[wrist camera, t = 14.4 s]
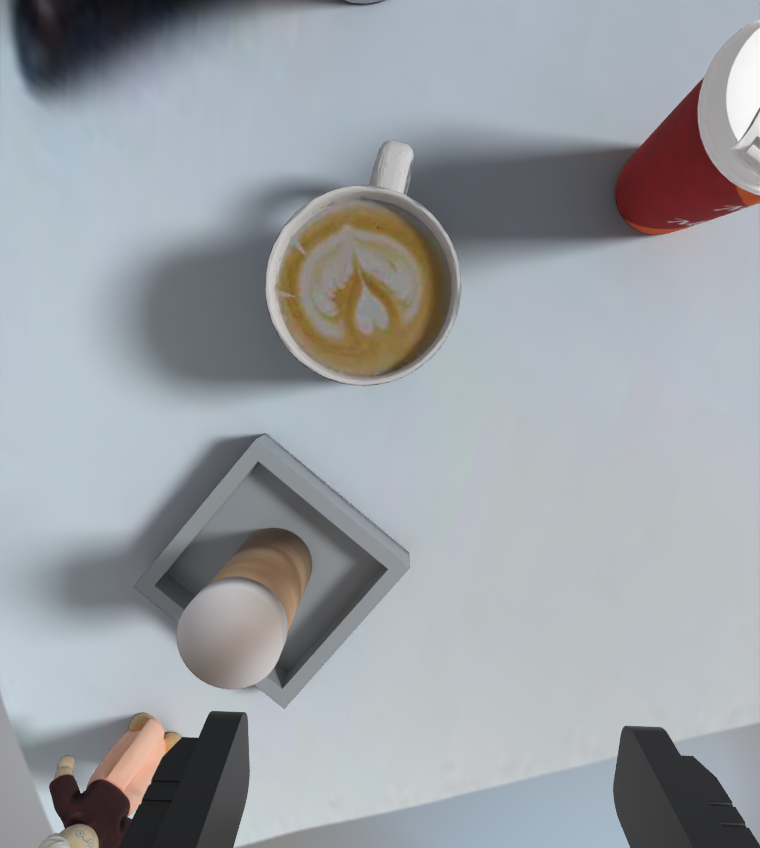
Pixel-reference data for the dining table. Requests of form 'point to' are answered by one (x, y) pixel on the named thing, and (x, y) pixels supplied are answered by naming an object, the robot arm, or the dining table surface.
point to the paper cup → (701, 148)
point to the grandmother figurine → (108, 788)
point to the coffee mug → (364, 279)
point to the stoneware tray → (319, 529)
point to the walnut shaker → (246, 611)
